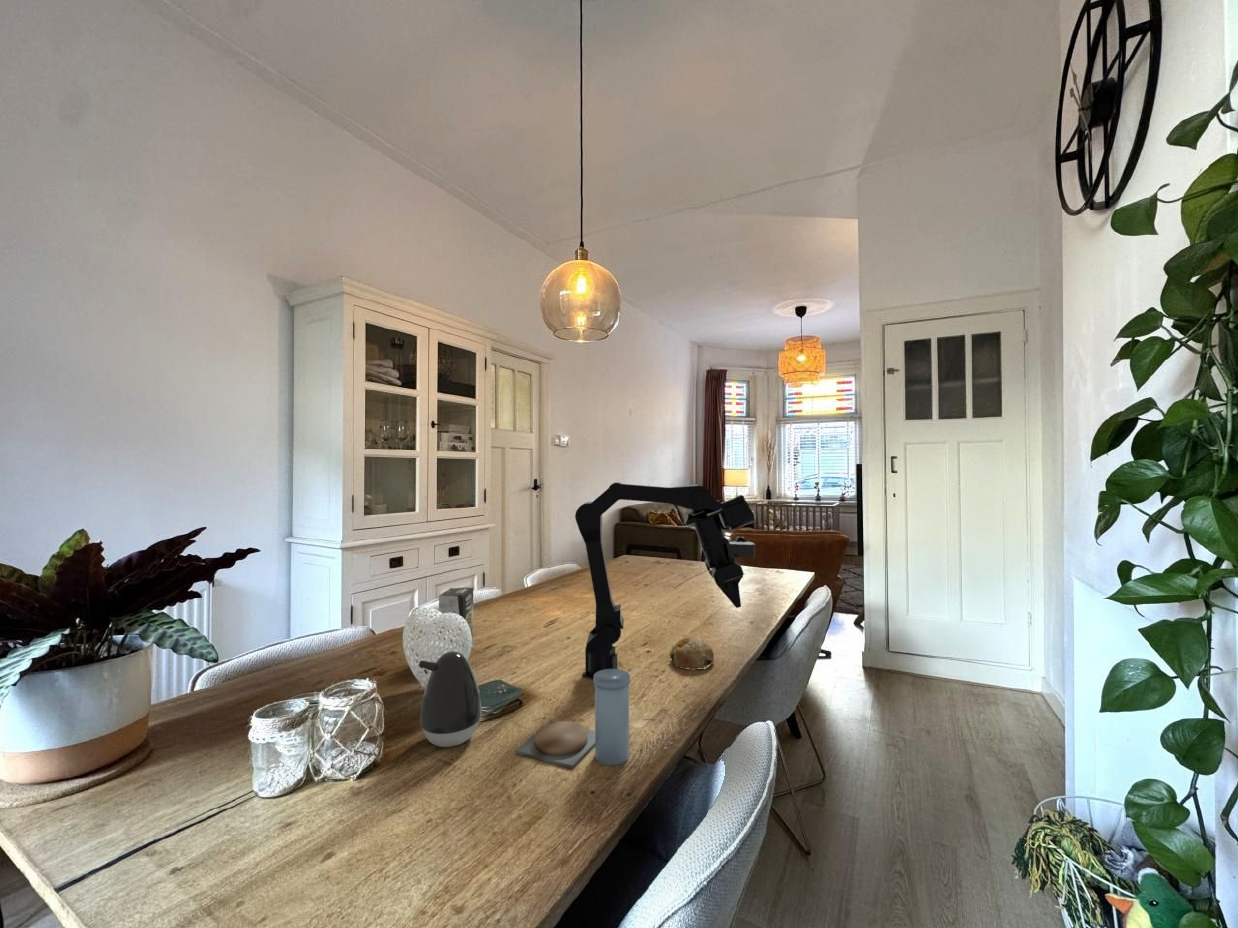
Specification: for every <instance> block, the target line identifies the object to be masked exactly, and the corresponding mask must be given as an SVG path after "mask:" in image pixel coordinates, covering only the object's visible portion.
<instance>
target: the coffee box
mask: <svg viewBox="0 0 1238 928" xmlns="http://www.w3.org/2000/svg"><path fill="white" fill-rule="evenodd" d="M438 611H439V612H441V613H442V614H444V613H455V614H458V615H460V616H462V617H463V618H464V619H465V620H466V622H467V623H468V625H469V628H470V630H471V635H472V646H471V651H472V650H473V649H474V642H475V641H474V640H475V639H474V587H455V588H454V587H450V588H449V589H448V590H446V591H444V592H443V593H441V594H440V595H438ZM454 617H455V616H454ZM456 620H457V619H456ZM442 623H443V622H442ZM451 624H452V623H451ZM454 626H455V625H454ZM462 627H463V626H462ZM438 628H439V629H440V627H438ZM442 629H443V630H444V629H445V628H444V627H442ZM454 629H455V628H454ZM447 631H448V630H447ZM451 631H452V632H453V630H452V629H451ZM459 631H461V629H460V628H459ZM448 633H449V631H448ZM440 634H441V631H440ZM456 634H457V633H456ZM452 636H453V635H452ZM457 637H459V635H457ZM453 638H455V636H454V637H453ZM439 640H440V638H439ZM447 640H448V639H447ZM444 641H445V637H444ZM450 643H451V644H452V643H453V641H452V639H450ZM456 644H457V643H456V641H455V645H456ZM463 646H464V644H463ZM457 650H458V649H457Z"/></svg>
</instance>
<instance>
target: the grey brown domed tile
mask: <svg viewBox="0 0 1238 928" xmlns="http://www.w3.org/2000/svg"><path fill="white" fill-rule="evenodd" d="M594 748H595V730H594V729H589V728H586V727H585V726H584V725H583V724H580V723H578V722H575V721H566V720H565V721H561V720H560V721H555V720H550V721H549V722H548V723H546V724H545V725H543V726H540V728H538V729H537V730H536V732H535V733H534V734H533V735H532V736H531V737H530V738H528V739H526V740H525V741H524V742H523V743H522V744H521V745H519V746H518V747H517V748H516V749H515V754H517V755H521V756H524V757H527V758H532V759H535V760H539V761H542V762H546V763H549V764H553V765H556V766H557V765H558V766H559V767H560V766H561V767H563V768H568V769H571V770H574V769H575V767H576V766H578V764H579V763H581V761H582V760H583V759H584V758H585V757H586V756H587V755H588V754H589V752H591V750H592V749H594Z"/></svg>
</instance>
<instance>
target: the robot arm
mask: <svg viewBox="0 0 1238 928" xmlns="http://www.w3.org/2000/svg"><path fill="white" fill-rule="evenodd" d="M620 500H622V501H623V500H624V501H633V502H634V501H635V502H645V503H646V502H648V503H659V504H660V503H661V504H670V505H674V506H676V507H677V506H678V507H681V508H685V509H688V510H691V511H692V510H693V511H697V512H698V513H695V514H692V513H690V512H687V515H686V519H685V520H684V521H683V523H684V524H685V525H686V526H690V525H693V526H694V529H695V532H696V535H697V537H698V541H699V544H700V547H701V549H702V552H703V554H704V557H705V560H704V565H705V568H706V571H708V573H709V575H710V576H711V577H712V578H713V580H714V582H715V584H716V586H717V587H718V588H719V589H720V590H721V592H723V594H724V595H725V596H726V597H727V599H728V600H729V601H730V602H731V603H732V605H733V606H735V608H736V609H737V608H741V607H742V604H741V603H742V602H741V595H740V587H739V585H740V582H741V580H742V579H743V577H744V575H745V573H744V571H743V568H742V565H740V563H738V562H736V560H737V559H736V558H747V559H756V543H754V542H751V541H746V539H745V537H744V536H736V538H735V540H734V541H729V538H727V536H725V533H724V531H723V528H724V529H725V528H728V529H729V530H730V531H733V530H736V529H738V528H741V527H744V526H746V525H750V524H753V523H755V517H754V516H755V515H754V514H753V511H752V508H750V506H749V503H748V502H747V501H746V499H745V495H743V494H739V495H737V496H735V497H733V498H731V499H728V500H725V501H722V502H721V501H720V500H717V499H715V498H714V497H712V494H711V491H710V490H709V489H708V488H707V487H706V486H703V485H699V484H689V485H679V486H671V487H670V486H669V487H668V486H655V485H654V486H653V485H643V484H632V483H631V484H629V483H621V482H618V481H617V482H613V483H611V484H610V485H609V486H608V488H607V489H606V490H605V491H604V492H602V493H601V494H600V495H598V497H597V498H595V499H594V500H593V501H587V502H584V503H582V504H581V505H580V506H579V507H578V508H577V509H576V510H575V514H574V515H575V517H574V518H575V521H576V524H577V527H578V530H579V533H580V535H581V537H582V539H583V542H584V544H585V549H586V554H587V560H588V566H589V571H590V577H591V582H592V588H593V594H594V600H595V626H594V627H593V628H592V629H591V630H590V631H589V633H588V635H587V641H586V645H585V651H584V652H585V654H584V655H585V660H584V661H585V671H584V672H583V673H582V674H581V676H582V677H583V678H589V679H593V680H594V674H595V673H596V672H598V671H601V670H605V669H618V654H617V653H616V646H614V644H615V643H617V642H618V641H619V640H620V638H621V637H622V636H621V635H622V630H623V629H624V625H625V624H624V623H625V619H624V617H623V615H622V604H621V603H620V604H617V605H616V604H615V601H614V600H613V596H612V591H611V585H610V580H609V574H608V568H607V563H606V557H605V552H604V551H605V550H604V547H603V546H604V545H603V540H602V539H603V515H604V514H605V513H606V512H607V511H608V510H609V509H610V508H612V506H614V505H615V504H616V503H617V502H618V501H620ZM706 509H708V510H712V512H709V513H707V512H706V511H705V510H706ZM718 516H719V517H718ZM719 519H720V520H719ZM720 523H721V524H722V525H721V524H720ZM722 526H723V528H722Z"/></svg>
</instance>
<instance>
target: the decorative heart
mask: <svg viewBox="0 0 1238 928" xmlns="http://www.w3.org/2000/svg"><path fill="white" fill-rule="evenodd" d="M454 616H455V617H454ZM456 619H457V620H456ZM442 622H443V623H442ZM451 623H452V624H451ZM454 625H455V626H454ZM462 626H463V627H462ZM439 627H440V629H439ZM442 627H444V628H445V629H444V630H443V629H442ZM454 628H455V629H454ZM459 628H460V629H461V631H459ZM451 629H452V630H453V632H452V631H451ZM447 630H448V631H449V633H448V631H447ZM440 631H441V634H440ZM456 633H457V634H456ZM452 635H453V636H452ZM457 635H459V637H457ZM454 636H455V638H453V637H454ZM444 637H445V641H444ZM439 638H440V640H439ZM447 639H448V640H447ZM450 639H452V641H453V643H452V644H451V643H450ZM455 641H456V643H457V644H456V645H455ZM463 644H464V646H463ZM471 646H472V635H471V630H470V628H469V625H468V623H467V622H466V620H465V619H464V618H463V617H462V616H460V615H458V614H455V613H444V614H442V613H441V612H439V609H436V608H432V607H426V606H425V607H420V608H417V609H415V610H414V611H413V612H411V614H409V616H408V618H407V619H406V620H405V622H404V627H403V632H402V647H403V652H404V656H405V660H406V662H407V664H408V666H409V668H410V670H411V672H412V674H413V675H414V677H415V679H416V680H417V681H418V682H419V683H420V687H422V688H423V687H424V689H425V688H426V684H427V681H428V679H429V676H430V674H431V671H430V670H428V669H425V668H422V667H419V662H420V661H421V660H423V661H428V662H434V663H436V662H437V660H438V659H439V658H440V657H441V656H442V655H443V654H445V653H447V652H451V651H455V652H459V653H461V654H463V655H464V656H465V658H466V659H467V660H468V661H469V657H470V655H471V652H472V650H471ZM457 649H458V650H457ZM425 671H426V672H427V673H426V672H425Z"/></svg>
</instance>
